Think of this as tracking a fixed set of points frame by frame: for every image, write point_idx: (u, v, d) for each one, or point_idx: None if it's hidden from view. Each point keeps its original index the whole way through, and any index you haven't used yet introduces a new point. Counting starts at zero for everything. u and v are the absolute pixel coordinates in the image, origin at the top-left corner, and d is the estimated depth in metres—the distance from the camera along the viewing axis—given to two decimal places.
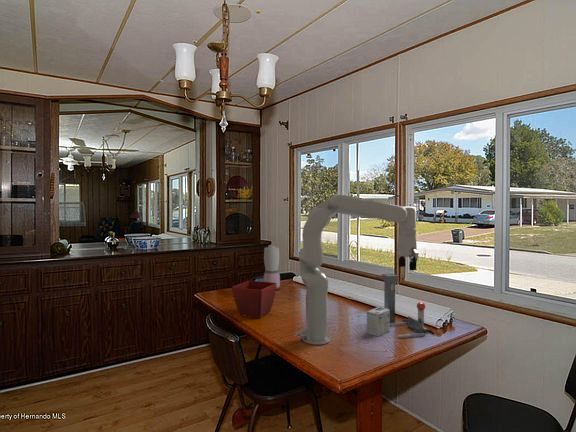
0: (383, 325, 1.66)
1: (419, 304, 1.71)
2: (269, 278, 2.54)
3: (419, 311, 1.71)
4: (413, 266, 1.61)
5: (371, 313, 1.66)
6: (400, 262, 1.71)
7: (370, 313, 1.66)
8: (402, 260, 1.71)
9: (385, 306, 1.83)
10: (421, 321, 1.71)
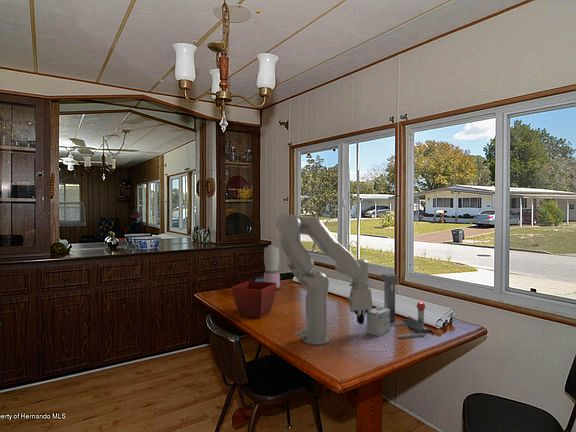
0: (383, 325, 1.66)
1: (419, 304, 1.71)
2: (269, 278, 2.54)
3: (419, 311, 1.71)
4: None
5: (371, 313, 1.66)
6: None
7: (370, 313, 1.66)
8: None
9: (385, 306, 1.83)
10: (421, 321, 1.71)
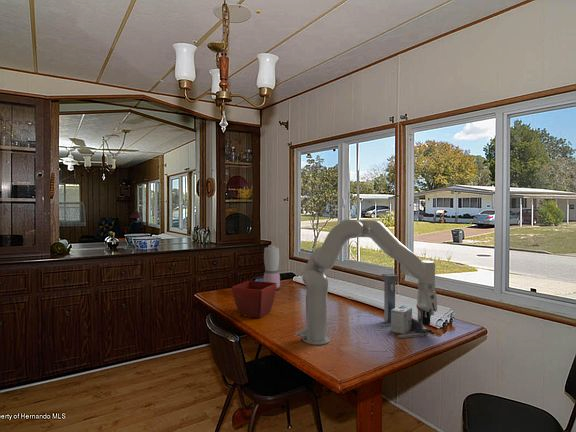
0: (407, 323, 1.69)
1: None
2: (269, 278, 2.54)
3: (419, 311, 1.71)
4: None
5: (396, 311, 1.68)
6: None
7: (395, 311, 1.68)
8: None
9: (385, 306, 1.83)
10: (421, 321, 1.71)
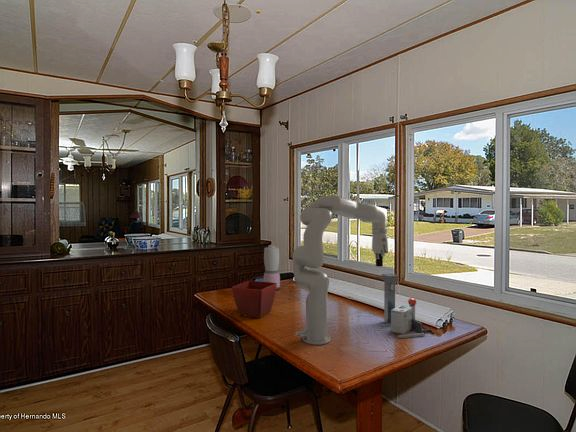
0: (407, 323, 1.69)
1: (410, 300, 1.79)
2: (269, 278, 2.54)
3: (410, 306, 1.79)
4: None
5: (396, 311, 1.68)
6: None
7: (395, 311, 1.68)
8: None
9: (385, 306, 1.83)
10: (412, 316, 1.79)
